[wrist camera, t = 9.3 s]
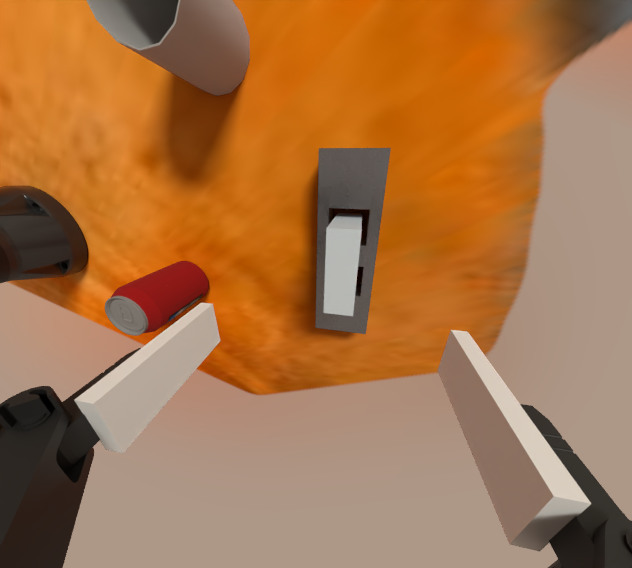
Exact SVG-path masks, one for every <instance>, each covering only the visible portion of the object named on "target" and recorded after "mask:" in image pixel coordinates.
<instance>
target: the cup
mask: <svg viewBox="0 0 632 568" xmlns="http://www.w3.org/2000/svg"><path fill="white" fill-rule="evenodd" d="M87 2H88V4H89V6H90V8H91V10H92V12H93V14H94V16H95V18H96V20H97V21H98V22H99V23H100V24H101V25H102V26H103V27H104V28H105V29H106V30H107V31H108V32H109V33H110V34H111V35H112V37H113V38H114V39H115V40H116V41H117V42H119V43H121V44H122V45H124V46H126V47H128V48H129V49H131V50H133V51H134V52H136V53H138V54H140V55H141V56H143V57H145V58H147V59H148V60H150V61H152V62H154V63H155V64H157V65H159V66H161V67H162V68H164V69H166V70H168V71H169V72H171V73H173V74H175V75H176V76H178V77H180V78H182V79H183V80H185V81H187V82H189V83H190V84H192V85H194V86H196V87H197V88H199V89H201V90H203V91H205V92H208V93H210V94H213V95H215V96H218V95H223V94H228V93H231V92H232V91H233V90H234V89H235V88H236V87H237V86H238V85H239V84H240V83H241V82H242V81H243V79H244V76H245V73H246V70H247V67H248V64H249V61H250V51H249V34H248V31H247V28H246V25H245V22H244V19H243V16H242V13H241V12H240V11H239V9H238V8H237V6H236V5H235V4H234V2H233V1H232V0H87Z"/></svg>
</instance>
